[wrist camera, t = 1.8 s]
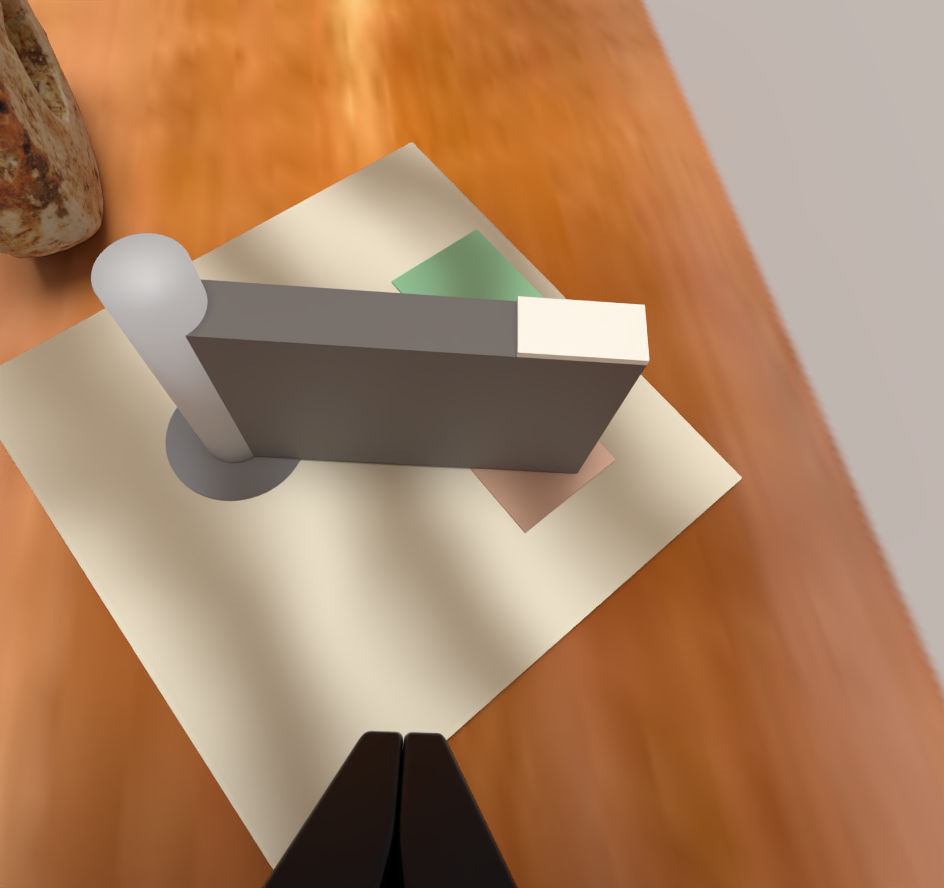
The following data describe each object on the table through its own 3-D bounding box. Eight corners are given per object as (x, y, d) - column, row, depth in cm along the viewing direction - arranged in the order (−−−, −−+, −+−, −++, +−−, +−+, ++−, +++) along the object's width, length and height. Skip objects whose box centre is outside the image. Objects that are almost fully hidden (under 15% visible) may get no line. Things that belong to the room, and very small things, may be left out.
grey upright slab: (198, 460, 22) (80, 309, 14) (209, 403, 22) (103, 229, 15) (578, 480, 22) (664, 348, 15) (575, 424, 23) (657, 270, 15)
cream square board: (286, 880, 18) (282, 885, 18) (-24, 392, 23) (-38, 382, 22) (734, 483, 24) (743, 477, 23) (412, 153, 28) (411, 139, 28)
